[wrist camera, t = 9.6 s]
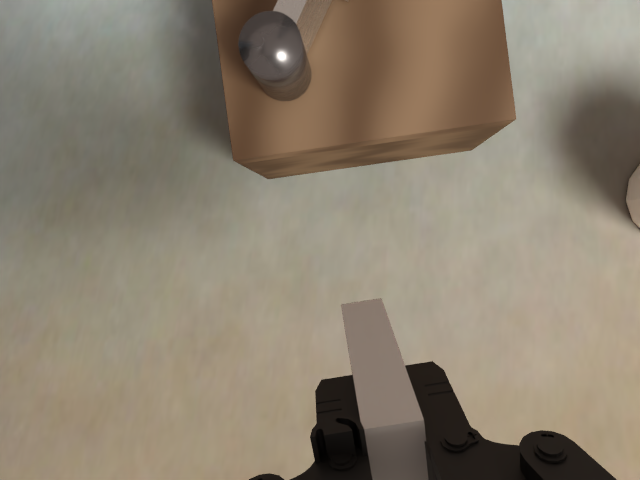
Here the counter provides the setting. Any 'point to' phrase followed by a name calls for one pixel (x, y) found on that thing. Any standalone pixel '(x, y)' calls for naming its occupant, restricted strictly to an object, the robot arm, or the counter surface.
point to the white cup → (634, 196)
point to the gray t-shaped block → (282, 46)
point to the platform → (372, 85)
